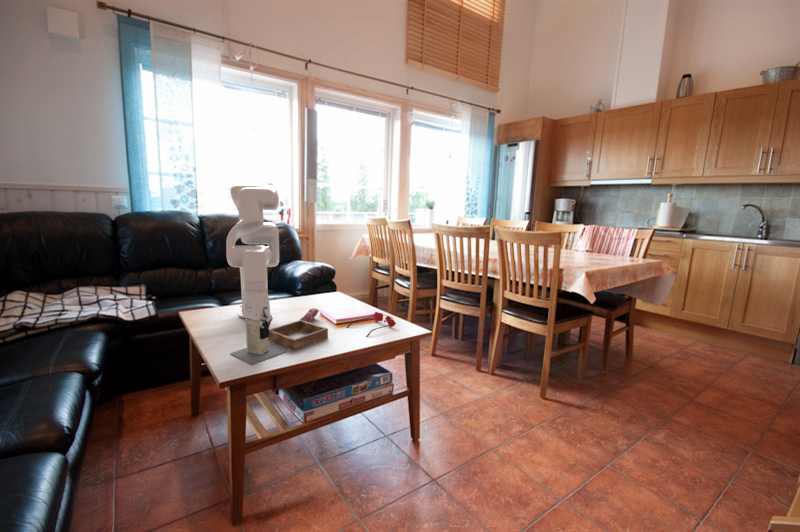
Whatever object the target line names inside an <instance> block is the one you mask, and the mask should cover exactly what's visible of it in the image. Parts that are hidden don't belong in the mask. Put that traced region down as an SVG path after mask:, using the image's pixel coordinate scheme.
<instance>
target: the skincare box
mask: <svg viewBox="0 0 800 532" xmlns="http://www.w3.org/2000/svg"><path fill="white" fill-rule="evenodd" d="M262 318H264V317H262ZM262 322H263V323H264V322H265V320H263V321H262ZM260 328H261V326H260V323H259V321H254V320H252V319H249V318H247V319H246V322H245V336H246V337H245V340H246V348H247V352H250V353H255V354H259V355H262V354H264V353H265V352H267V351H269V344H270V341H269V337H268V338H265V339H260Z"/></svg>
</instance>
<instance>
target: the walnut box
mask: <svg viewBox="0 0 800 532" xmlns="http://www.w3.org/2000/svg"><path fill="white" fill-rule="evenodd" d="M328 330H329V329H328V328H327V327H324V326H321V325H319V324H315V323H312V322H306V321H303V320H300V319H299V320H296V321H293V322H289V323H286V324H283V325H279V326H276V327H273V328H269V342H270V343H274V344H275V345H278V346H280V347H283V348H285V349H288V350H290V349H291V351H293V352H295V351H298V349H299V350H301V349H305V348H306V346H307V347H309V346H312V345H314V344H317V343H319V342H322V341H324V340H326V339H329V336H328V335H329V331H328ZM299 331H300V332H301V331H302V332H305V333H308V334H305V335H303V336H300V337H296V338H293V337H290V336H288V335H291V334H294V333H296V332H299Z"/></svg>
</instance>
